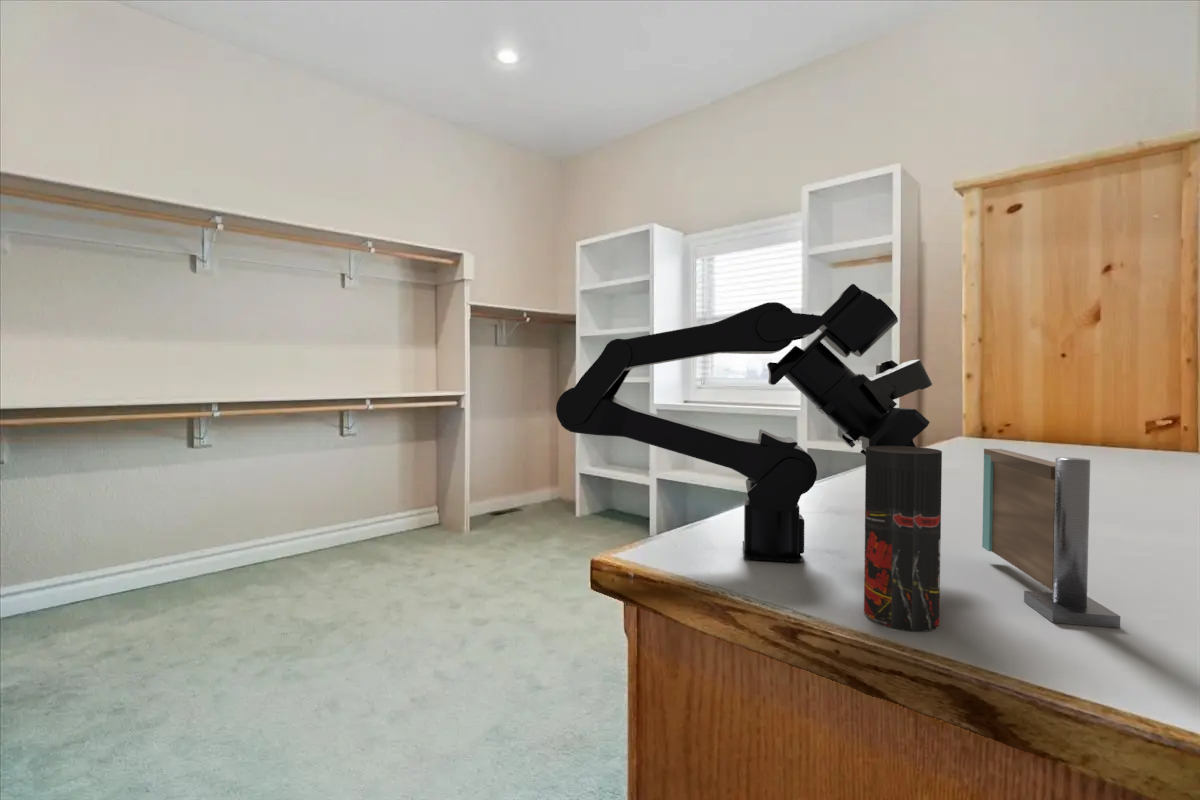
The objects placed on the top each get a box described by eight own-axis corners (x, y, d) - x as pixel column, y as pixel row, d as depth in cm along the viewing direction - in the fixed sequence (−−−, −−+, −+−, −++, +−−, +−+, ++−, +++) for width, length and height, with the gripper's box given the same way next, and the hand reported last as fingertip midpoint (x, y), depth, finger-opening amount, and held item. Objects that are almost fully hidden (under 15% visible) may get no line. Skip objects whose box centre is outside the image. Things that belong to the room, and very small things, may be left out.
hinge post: (1052, 622, 50) (1056, 462, 49) (1023, 601, 55) (1026, 454, 54) (1120, 627, 49) (1124, 463, 48) (1084, 605, 54) (1088, 456, 53)
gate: (1048, 590, 53) (1051, 466, 53) (982, 546, 68) (983, 448, 67) (1070, 591, 53) (1073, 466, 53) (999, 547, 67) (1001, 449, 67)
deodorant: (950, 634, 48) (953, 454, 47) (873, 628, 49) (875, 452, 48) (925, 606, 54) (927, 446, 53) (857, 602, 55) (858, 445, 54)
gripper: (907, 328, 57) (1031, 440, 55) (864, 341, 76) (956, 426, 73) (823, 407, 59) (940, 518, 57) (801, 401, 78) (889, 485, 75)
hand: (932, 481), depth 66 cm, fingers closed
